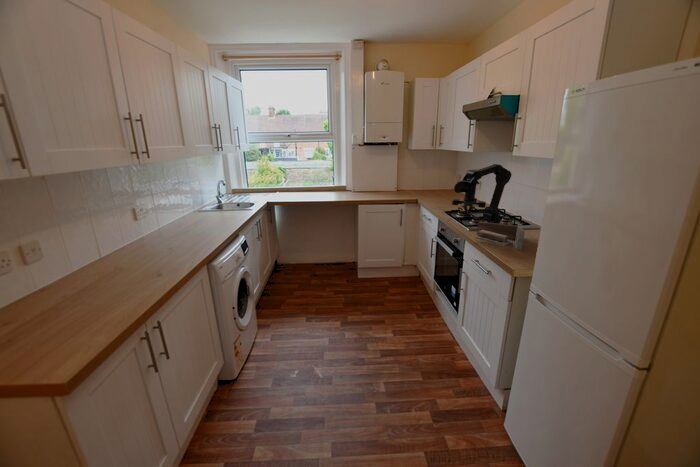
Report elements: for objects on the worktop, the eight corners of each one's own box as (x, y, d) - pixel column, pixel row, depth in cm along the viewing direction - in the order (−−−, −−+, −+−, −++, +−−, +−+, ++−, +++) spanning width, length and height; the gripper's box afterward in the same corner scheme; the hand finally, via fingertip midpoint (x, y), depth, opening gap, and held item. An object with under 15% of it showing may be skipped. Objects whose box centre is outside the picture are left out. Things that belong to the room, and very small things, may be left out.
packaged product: (475, 231, 183) (483, 228, 189) (474, 238, 184) (482, 235, 190) (506, 238, 170) (513, 235, 176) (504, 246, 171) (511, 242, 178)
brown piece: (476, 233, 192) (479, 218, 189) (518, 238, 183) (521, 223, 180) (475, 244, 174) (477, 227, 171) (521, 250, 165) (524, 233, 162)
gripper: (452, 192, 176) (449, 218, 182) (487, 195, 169) (482, 222, 174) (454, 189, 186) (451, 213, 191) (487, 192, 179) (483, 217, 184)
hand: (466, 216), depth 185 cm, fingers closed
